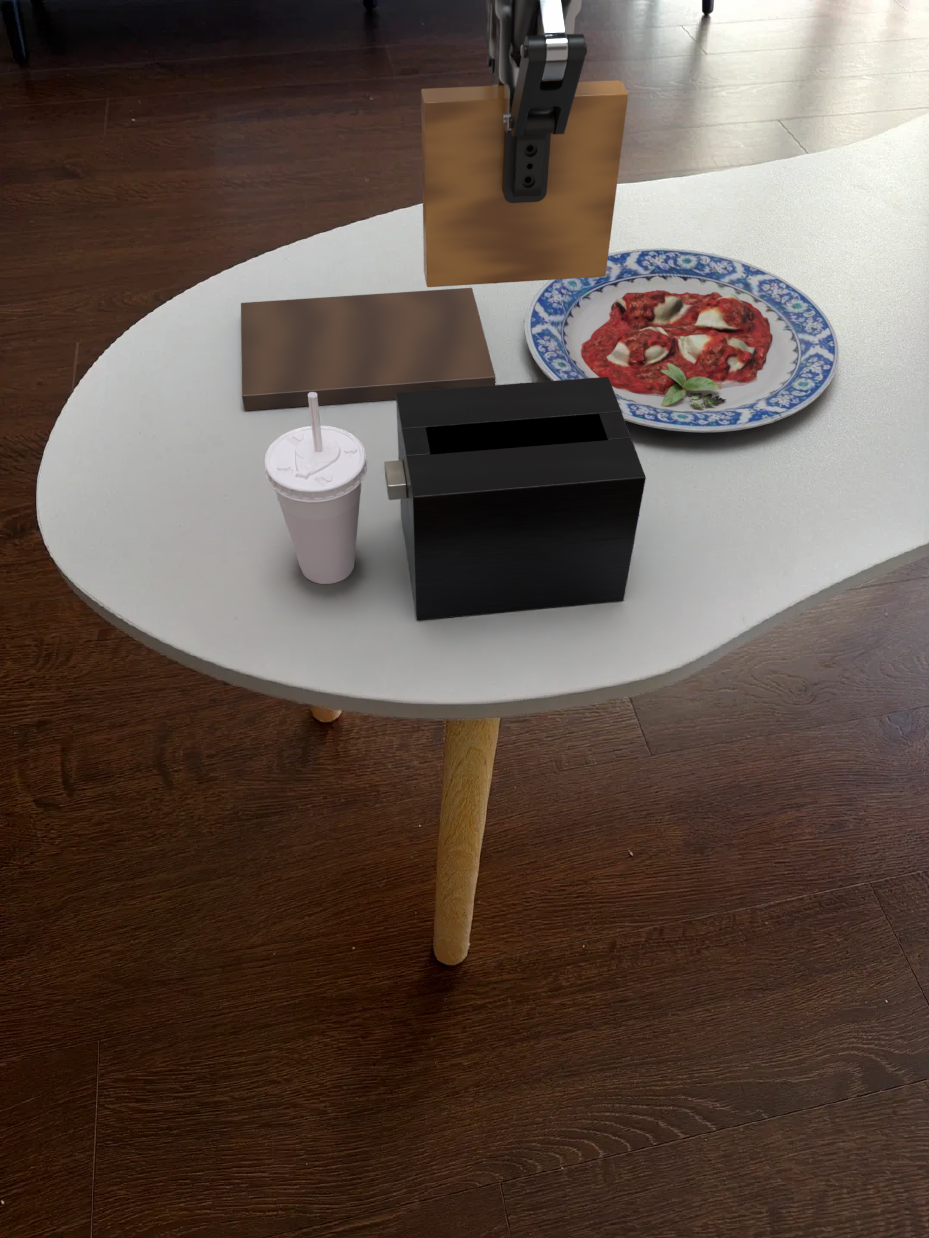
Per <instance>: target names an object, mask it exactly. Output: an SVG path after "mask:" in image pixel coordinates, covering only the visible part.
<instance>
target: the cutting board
mask: <svg viewBox="0 0 929 1238" xmlns="http://www.w3.org/2000/svg"><path fill="white" fill-rule="evenodd" d="M486 339H487V338H486V336H485V332H484V328H483V324H482V320H481V317H480V313H479V309H478V305H477V301H476V298H475V294H474V291H473V287H461V288H459V287H458V288H446V289H445V288H444V289H443V288H442V289H432V290H431V289H429V290H415V291H414V290H413V291H399V292H384V293H369V294H354V295H353V294H352V295H339V296H338V295H337V296H323V297H311V298H310V297H309V298H308V297H307V298H294V299H279V300H278V299H277V300H264V301H263V300H262V301H247V302H240V345H241V346H240V350H241V355H240V357H241V399H242V405H243V410H244V411H245V412H249V411H261V410H262V411H263V410H274V409H277V410H278V409H288V408H303V407H309V401H308V394H309V393H310V392H315V393H317V398H318V406H328V405H340V404H341V405H342V404H354V403H355V404H356V403H366V402H368V403H369V402H380V401H393V400H395V401H396V393H398V392H411V391H424V390H437V389H451V388H464V387H477V386H490V385H496V373H495V370H494V366H493V363H492V362H493V361H492V359H491V355H490V351H489V347H488V343H487V340H486Z"/></svg>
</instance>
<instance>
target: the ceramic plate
mask: <svg viewBox="0 0 929 1238" xmlns="http://www.w3.org/2000/svg"><path fill="white" fill-rule="evenodd" d="M524 335H525V336H524V337H525V342H526V345H527V347H528V351H529V353H530V355H531V356H532V358H533V360H534V362H535V363H536V365H537V366H538V368H539V369H540V370H541V371H542V374H544V375H545V376H546V377H547V378H548V379H549V380H550V381H557V380H570V379H583V378H597V377H609V379H610V382H611V385H612V387H613V390H614V393H615V395H616V398H617V401H618V404H619V406H620V409H621V412H622V415H623V417H624V420H625V422H629V423H631V424H632V423H633V424H636V425H638V426H639V425H640V426H643V427H649V428H653V429H659V430H666V431H674V432H687V433H723V432H725V433H726V432H734V431H741V430H747V429H752V428H757V427H761V426H765V425H769V424H773V423H776V422H777V421H778V422H779V421H780V420H782V419H785V418H787V417H790V416H793V415H795V414H796V413H798V412H800V411H801V410H803V409H805V408H806V407H808V406H809V405H810V404H812V403H813V402H815V401H816V400H817V398H819V397H820V396H821V395H822V394H823V393H824V391H825V390H826V388H827V387H828V386H829V385H830V384H831V382H832V380H833V379H834V376H835V374H836V372H837V368H838V365H839V360H840V345H839V341H838V337H837V334H836V332H835V329H834V327H833V325H832V323H831V320H830V319H829V317H828V316H827V315H826V314H825V313H824V312H823V310H822V309H821V308H820V307H819V305H818V304H817V303H816V302H815V301H814V300H813V299H811V297H809V295H807V294H806V293H805V292H803V291H802V290H800V289H799V288H797V287H796V286H794V285H793V284H791V283H790V282H788V281H787V280H785V279H784V278H781V276H779V275H777V274H775V273H772V272H770V271H768V270H765V269H763V268H761V267H759V266H756V265H753V264H751V263H748V262H745V261H743V260H740V259H736V258H732V257H728V256H724V255H720V254H716V253H710V252H707V251H706V252H705V251H701V250H700V251H699V250H693V249H682V248H667V247H659V248H635V249H628V250H622V251H615V252H609V253H608V261H607V269H606V276H604V277H588V278H572V279H556V280H546V282H545V283H543V285H542V286H541V287H540V288H539V289H538V290H537V292H536V293H535V294H534V295H533V297H532V298H531V300H530V302H529V304H528V307H527V310H526V312H525V317H524Z"/></svg>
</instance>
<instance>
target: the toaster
mask: <svg viewBox="0 0 929 1238" xmlns="http://www.w3.org/2000/svg"><path fill="white" fill-rule="evenodd" d="M395 401H396V403H395V404H396V406H395V407H396V427H397V429H396V430H397V451H398V460H387V461H386V460H385V461H384V463H383V465H384V478H385V485H386V493H387V499H388V500H389V501H393V500H400V504H399V505H400V519H401V527H402V532H403V539H404V546H405V553H406V560H407V567H408V574H409V580H410V586H411V593H412V599H413V608H414V612H415V614H414V615H415V620H416V621H417V622H418V621H429V620H438V619H449V618H458V617H468V616H478V615H489V614H500V613H511V612H519V611H530V610H542V609H551V608H561V607H571V606H573V607H574V606H583V605H592V604H603V603H604V604H605V603H613V602H623V601H624V599H625V594H626V589H627V583H628V579H629V572H630V569H631V562H632V558H633V557H632V556H633V551H634V545H635V540H636V534H637V530H638V529H637V528H638V523H639V518H640V513H641V506H642V501H643V497H644V491H645V485H646V479H647V476H646V473H645V471H644V469H643V465H642V463H641V460H640V458H639V455H638V452H637V450H636V447H635V445H634V442H633V438H632V436H631V433H630V431H629V428H628V425H627V423H626V421H625V420H624V417H623V415H622V412H621V409H620V406H619V404H618V401H617V398H616V395H615V393H614V390H613V387H612V385H611V382H610V379H609V377H597V378H583V379H570V380H557V381H552V380H546V381H532V382H530V381H529V382H517V383H506V384H495V385H490V386H477V387H464V388H451V389H437V390H424V391H411V392H398V393H396V399H395Z"/></svg>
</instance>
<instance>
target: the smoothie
mask: <svg viewBox="0 0 929 1238" xmlns="http://www.w3.org/2000/svg"><path fill="white" fill-rule="evenodd" d="M308 401H309V406H308V409H309V417H310V425H307V426H301V427H298V428H293V429H292V430H289V431H287V432H285V433H284V434H282V435H280V436H278V437H277V438H275V440H273V442H272V443H270V445H269V447H268V448H267V450H266V452H265V455H264V475H265V478H266V482H267V483H268V484H269V486H270V487H271V489H272V490H273V491H275V495H276V498H277V501H278V502H279V507H280V509H281V512H282V516H283V518H284V521H285V524H286V528H287V530H288V533H289V537H290V540H291V543H292V546H293V548H294V552H295V555H296V559H297V561H298V566H299V567H300V570H301V573H302V574H303V576H304V577H305V578H306V579H308V580H309V581H311V582H313V583H315V584H319V585H332V584H336V583H339V582H341V581H344V580H345V579H347V578H348V577H349V576H350V575H351V574H352V572H353V571H354V568H355V562H356V551H357V550H356V549H357V539H358V537H357V536H358V525H359V515H360V513H359V512H360V503H361V501H360V500H361V493H362V482H363V481H364V480H365V477H366V476H367V475H366V474H367V472H368V461H367V455H366V449H365V447H364V445H363V443H362V442H361V441H360V440H359V439H358V437H356V436H355V435H354V434H352V433H351V432H349V431H347V430H345V429H342V428H340V427H335V426H330V425H321V417H320V410H319V409H320V408H319V405H318V398H317V393H315V392H310V393H309V394H308Z"/></svg>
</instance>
